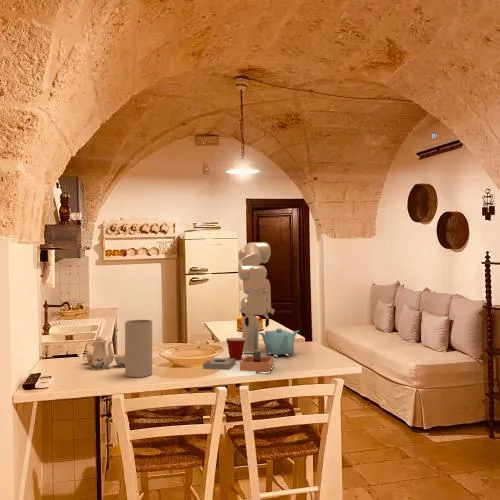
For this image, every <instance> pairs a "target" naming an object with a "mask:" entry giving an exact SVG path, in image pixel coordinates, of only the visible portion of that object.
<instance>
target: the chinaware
mask: <svg viewBox="0 0 500 500" xmlns="http://www.w3.org/2000/svg"><path fill="white" fill-rule="evenodd" d="M106 342H107V339H106V340H105V339H103V337H102V336H101V335H98V336H97V338H96V339H95V340H93V341H91V342H87V343H86V344H85V346H84V351H85V354H84V356H83V361H84V362H86V361H87V364H88V366H89V367H90V369H91V370H92V371H94V370H95V371H97V370H98V371H100V370H101V371H102V370H107V369H109V366H110V364H112V363H113V362H115V364H117V366H118V368H123V367H124V366H125V353H124V354H116V355H115V356H114V351H113V349H112V346H111V345H112V343H113V341H109V342H108V344H107V348H106ZM89 344H91V346H92V347H93V351H92V352H88V350H87V348H88V347H87V346H88V345H89ZM106 349H107V350H106ZM107 351H108V353H107ZM85 357H86V360H85ZM124 368H125V367H124Z"/></svg>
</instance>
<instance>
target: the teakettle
mask: <svg viewBox="0 0 500 500" xmlns="http://www.w3.org/2000/svg"><path fill="white" fill-rule="evenodd" d="M299 332H300V330H295V331H293V332H290V331H288V330H285V329H283V328H276V329H275V330H266V331H264V332H259V335H261V337H262V339H263V344H264V351H266V352H268V353H269V352H270V353H271V354H273V355H278V356H279V355H284V354H289V355H291V354H294V353H295V347H294V346H295V344H294V343H295V339H296V335H297V334H298V333H299ZM273 355H272V356H273Z"/></svg>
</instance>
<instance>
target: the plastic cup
mask: <svg viewBox="0 0 500 500" xmlns="http://www.w3.org/2000/svg"><path fill="white" fill-rule="evenodd" d="M245 340H246V339H244V338H242V337H226V338H225V341H226V345H227V350H228V355H229V358H230V359H235V361H242V360H243V357H242V356H243V354H244V353H243V347H244V343H245Z"/></svg>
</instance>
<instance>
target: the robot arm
mask: <svg viewBox="0 0 500 500" xmlns="http://www.w3.org/2000/svg"><path fill="white" fill-rule="evenodd" d="M271 252H272V251H271V245H270V244H269V243H268V242H264V241H263V242H260V241H259V242H258V241H257V242H253V241H251V242H248V243H247V244H245V246H244V248H241V249H240V250H239V251H238V265H237V271H238V277H239V279H240V280H241V281H242V290H243V293H244V294H245V295H247V297H244V298H242V299H241V300H240V309H239V312H240V314H241V319H242V320H241V324H242V325H241V328H242V329H241V331H242V333H241V334H242V335H241V336H242V337H241V338H244V339H246V340H245V343H244V347H243V352H244V353H243V354H245V353H252V352H253V351H255V350H258V351H261V352H262V349H261V348H260V347H259V346H260V344H259V341H260V340H259V336H260V334H259V333H260V332H259V330H260V329H259V328H260V327H259V319H258V318H257V317H256V316H264V317H265V322H264V323H265V324H264V325H265V328H268V327H269V326H270V319H271V317H272V316H273V315H274V313H275V309H274V308H272V304H271V303H272V299H271V298H272V297H271V296H272V295H271V282H270V281H269V279H268V278H267V275H268V273H267V272H268V271H267V268H266V267H265V266H264V265H261V264H267V262H269V260H270V257H271Z"/></svg>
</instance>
